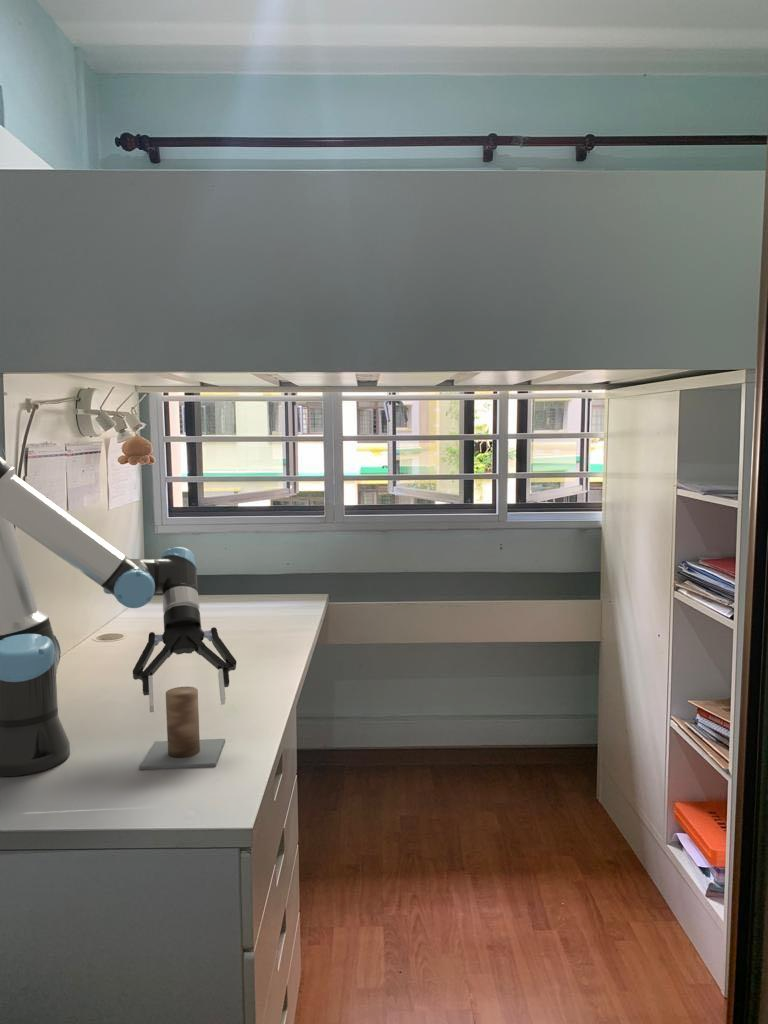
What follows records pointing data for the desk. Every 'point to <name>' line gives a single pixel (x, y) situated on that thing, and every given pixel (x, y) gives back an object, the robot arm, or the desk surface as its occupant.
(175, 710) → the walnut canister
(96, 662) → the desk surface
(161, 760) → the slate mat
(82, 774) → the desk surface
